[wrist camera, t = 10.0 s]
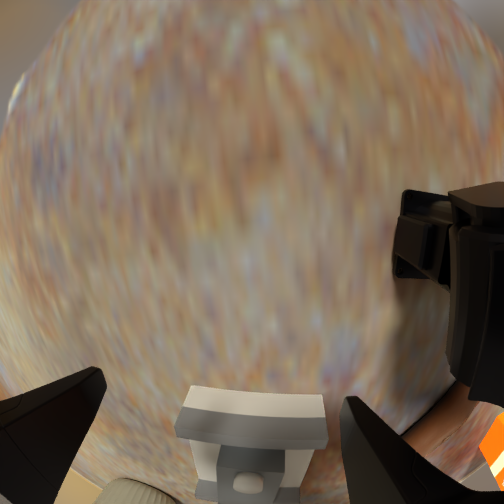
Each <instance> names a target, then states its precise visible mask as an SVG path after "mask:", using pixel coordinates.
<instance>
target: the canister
mask: <svg viewBox="0 0 504 504" xmlns="http://www.w3.org/2000/svg"><path fill="white" fill-rule="evenodd" d="M93 504H176V503H175V502H174V500H172V499H171V498H170V497H169V496H167V495H166V494H164V493H162V492H161V491H159V490H157V489H155V488H153V487H150V486H148V485H146V484H143V483H140V482H138V481H134V480H130V479H126V478H118V479H115V480H113V481H111V482H110V483H109V484H108V485H107V486H106V487H105V489H104V490H103V491H102V493H101V494H100V495H99V496H98V498H97V499H96V500H95V502H94V503H93Z"/></svg>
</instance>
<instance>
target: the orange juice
mask: <svg viewBox="0 0 504 504" xmlns="http://www.w3.org/2000/svg"><path fill="white" fill-rule="evenodd" d="M479 448H480V449H481V451H482V453H483V455H484V457H485V459H486V461H487V463H488V464H489V466H490V469H491V471H492V473H493V475H494V477H495V478H496V481H497V483H498V485H499V487H500V489H501V491H504V412H503V413H502V414H500V415H498V416H497V417H496V419H495V421H494V423H493V424H492V426H491V428H490V430H489V431H488V433H487V434H486V436H485V438H484V439H483V441H482V442H481V444H480V445H479Z"/></svg>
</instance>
